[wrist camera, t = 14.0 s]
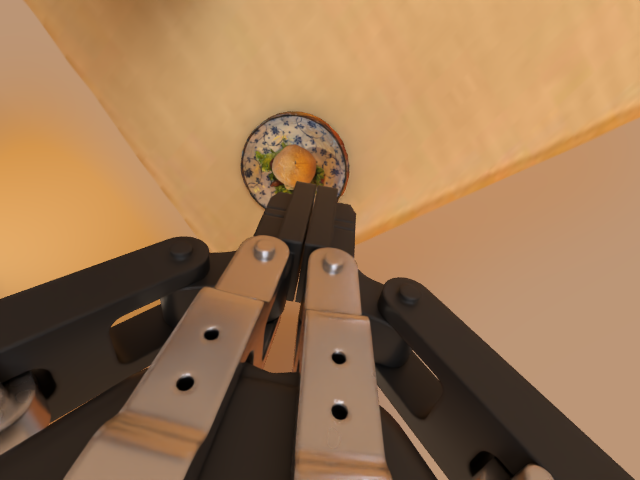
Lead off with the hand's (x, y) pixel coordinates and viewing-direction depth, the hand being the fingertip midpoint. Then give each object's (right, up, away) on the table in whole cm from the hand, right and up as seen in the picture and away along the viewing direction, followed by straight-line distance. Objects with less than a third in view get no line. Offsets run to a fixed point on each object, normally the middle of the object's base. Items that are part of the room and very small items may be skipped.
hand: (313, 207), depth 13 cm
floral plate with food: (-2, +7, +27) cm, 28 cm away
